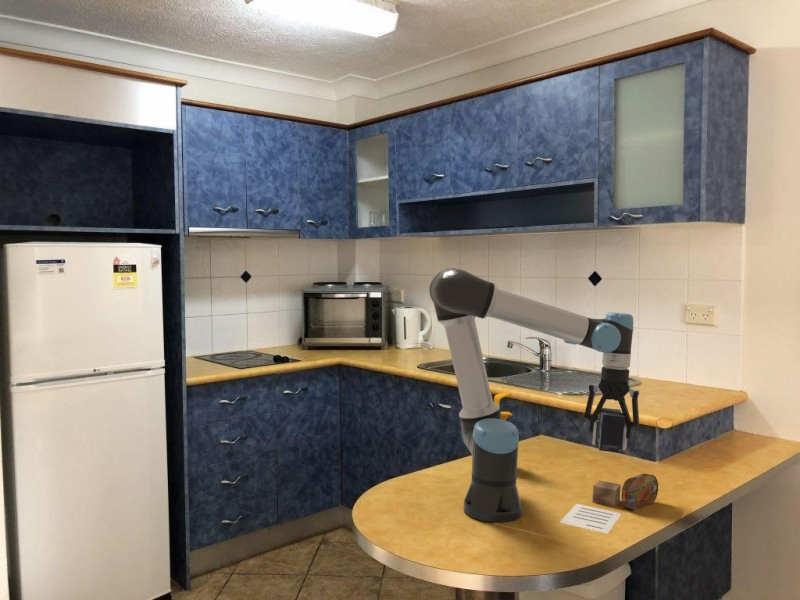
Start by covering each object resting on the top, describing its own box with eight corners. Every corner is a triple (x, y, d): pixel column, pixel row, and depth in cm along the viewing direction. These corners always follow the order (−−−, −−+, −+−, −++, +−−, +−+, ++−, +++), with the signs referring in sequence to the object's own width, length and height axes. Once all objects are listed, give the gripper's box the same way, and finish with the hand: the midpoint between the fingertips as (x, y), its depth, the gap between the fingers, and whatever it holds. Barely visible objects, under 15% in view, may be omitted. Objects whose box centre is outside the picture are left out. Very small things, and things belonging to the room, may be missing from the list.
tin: (628, 513, 177) (630, 482, 176) (618, 509, 179) (619, 479, 178) (658, 502, 186) (660, 472, 186) (648, 498, 188) (649, 469, 188)
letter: (559, 523, 168) (559, 522, 168) (576, 504, 182) (576, 503, 182) (607, 534, 162) (607, 533, 162) (621, 514, 176) (621, 513, 176)
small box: (623, 453, 183) (626, 416, 183) (599, 451, 184) (601, 414, 184) (618, 444, 193) (621, 408, 193) (595, 441, 195) (598, 406, 194)
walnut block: (592, 503, 183) (593, 485, 183) (598, 497, 188) (599, 480, 188) (614, 508, 180) (615, 490, 180) (619, 502, 185) (620, 484, 185)
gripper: (576, 363, 189) (570, 442, 190) (651, 373, 179) (644, 456, 181) (582, 361, 196) (576, 437, 197) (655, 370, 186) (648, 450, 187)
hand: (609, 446), depth 189 cm, fingers closed on small box, 7 cm apart
